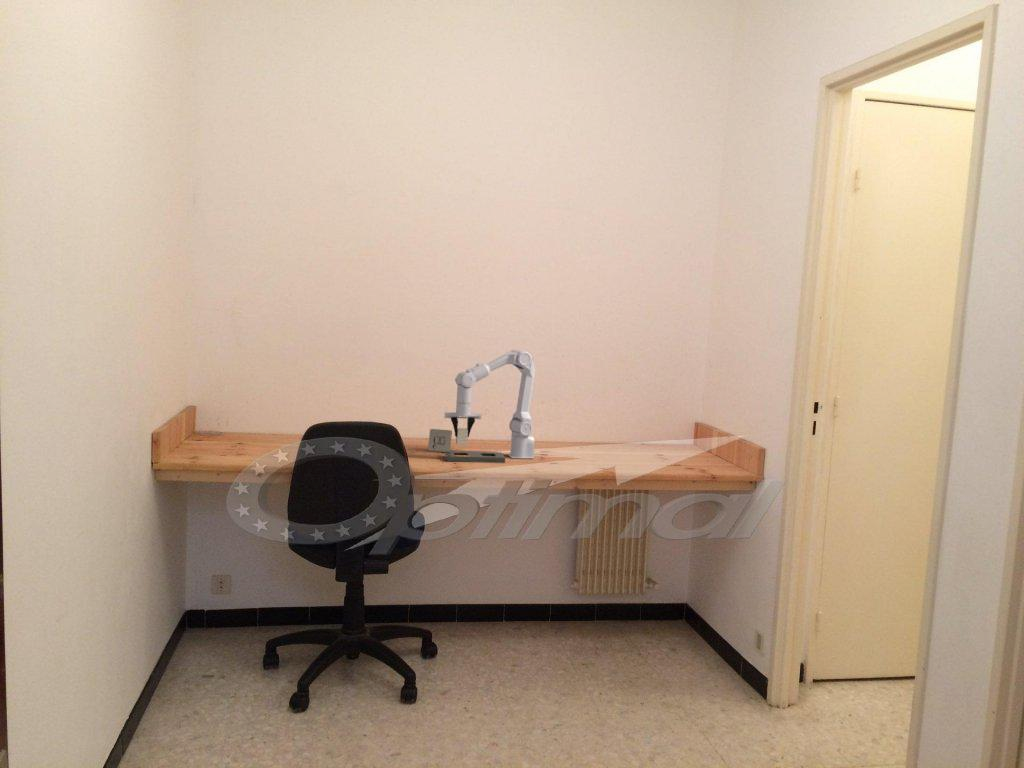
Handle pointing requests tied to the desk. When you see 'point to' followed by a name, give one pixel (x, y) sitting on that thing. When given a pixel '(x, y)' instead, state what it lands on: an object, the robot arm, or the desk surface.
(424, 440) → the desk surface
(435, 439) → the electrical switch
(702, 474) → the desk surface
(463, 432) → the peg
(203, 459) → the desk surface
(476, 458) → the grey board with holes
